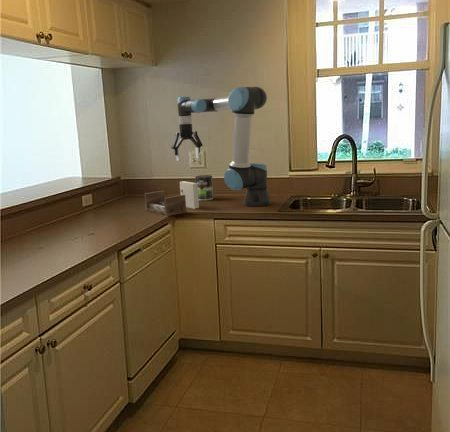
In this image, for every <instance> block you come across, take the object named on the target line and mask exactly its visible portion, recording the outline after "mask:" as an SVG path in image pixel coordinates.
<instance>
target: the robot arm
mask: <svg viewBox="0 0 450 432" xmlns="http://www.w3.org/2000/svg"><path fill="white" fill-rule="evenodd" d="M267 100H268V96H267V92H266V91H265V90H264V89H263V88H262V87H260V86H238V87H237V86H236V87H235V88H233V89H232V90H231V91H230V92H229V95H227V96H220V97H213V98H196V99H191V97H190V96H179V97H178V98H177V103H176V104H177V112H178V123H179V126H178V127H179V132H175V134H174V138H173V142H172V145H171V149H172V150H173V151H174V155H175V158H176V159H175V161H177V162H179V161H180V160H181V159H180V158H181V157H180V149H179V148H180V146H181V145H182V143H183V142H184V141H185V140H190V141H191V142H192V144H193V145H194V146H195V148H194V150H195V159H198V160H199V159H200V154H201V153H200V152H201V147H203V145H204V144H203V143H202V141H201V138H200V137H199V135H198V131H197V130H194V131H193V119H192V114H193V113H195V114H196V113H197V114H201V113H213V112H215V113H216V112H220V111H226V110H227V111H228V110H232V113H231V114H233V115H232V116H234V122H233V123H234V124H233V125H234V127H233V142H232V143H233V144H232V160H231V162H230V163H229V164H228V169H227V170H226V171H225V172H224V174H223V175H224V176H223V179H224V183H225V185H226V186H227V188H228V189H231V190H232V191H240V190H243V189H246V193H245V196H244V199H243V206H245V207H264V206H269V205H271V204H272V202H271V201H272V200H271V199H272V198H271V197H270V193H269V191H268V168H267V165H266V164H264V163H253V162H252V163H249V155H250V142H251V141H250V140H251V139H250V138H251V125H252V123H251V122H252V117H253V116H254V115H255V110H259V109H261V108H263V107H264V106H265V105H266V103H267Z"/></svg>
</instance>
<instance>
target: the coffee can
mask: <svg viewBox="0 0 450 432" xmlns="http://www.w3.org/2000/svg"><path fill="white" fill-rule="evenodd" d="M194 178H195V183H198V201H211V200H213V199H214V195H213V193H214V190H213V189H214V187H213V186H214V185H213V176H212V175H209V174H205V175H203V174H201V175H196V176H194Z"/></svg>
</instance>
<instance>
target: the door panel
mask: <svg viewBox="0 0 450 432" xmlns="http://www.w3.org/2000/svg"><path fill="white" fill-rule="evenodd" d="M179 192H180V193H179V195H185V199H186V208H189V209H193V210H195V209H196V208H197V209H200V204H199V201H200V200H198V183H196V182H191V181H183V180H182V181H179Z"/></svg>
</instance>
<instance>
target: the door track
mask: <svg viewBox="0 0 450 432" xmlns="http://www.w3.org/2000/svg"><path fill="white" fill-rule="evenodd" d="M143 195H144V196H143V197H144V208H145V211H148V212H151V213H155V214H158V215H162V216H164V217H169V216H175V215H180V214H186V213H187V207H186V199H185V195H180V194H179V195H173V196H167V197H166V192H165V190H159V191H157V190H156V191H152V192H145V193H143Z"/></svg>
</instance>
